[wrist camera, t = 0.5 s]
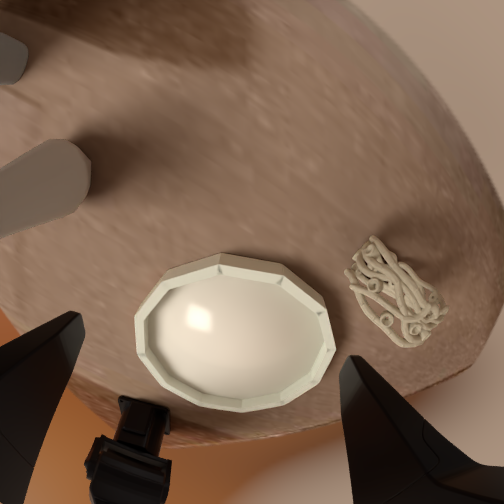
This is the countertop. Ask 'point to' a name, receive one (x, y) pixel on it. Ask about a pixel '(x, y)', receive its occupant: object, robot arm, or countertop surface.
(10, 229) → the salt shaker
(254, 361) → the ring dish
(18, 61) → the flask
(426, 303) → the bracelet
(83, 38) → the countertop surface
